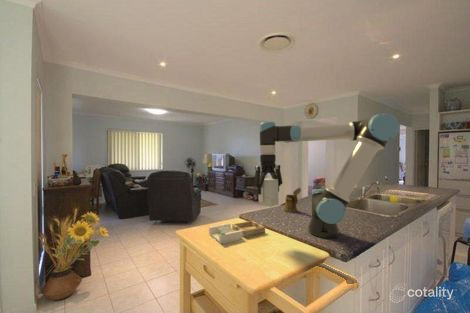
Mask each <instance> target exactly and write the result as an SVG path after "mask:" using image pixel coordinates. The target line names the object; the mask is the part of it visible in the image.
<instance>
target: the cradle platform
mask: <svg viewBox="0 0 470 313" xmlns="http://www.w3.org/2000/svg"><path fill="white" fill-rule="evenodd" d="M216 229H217V230H218V231H219V232H221V233H222V232H225V233H229V232H233V231H235V230H233V229H232V228H230V227H228V226H227V225H226V226H220V227H216Z"/></svg>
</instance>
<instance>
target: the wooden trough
mask: <svg viewBox="0 0 470 313" xmlns="http://www.w3.org/2000/svg"><path fill="white" fill-rule="evenodd" d="M231 227H232V228H231V229H233V230H235V231H238V230H242V238H244V239H245V238H249V237H253V236H258V235H263V234H266V227H265V226H264V225H262V224H260V223H257V222H255V221H254V220H248V221H244V222H237V223H232V226H231Z"/></svg>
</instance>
